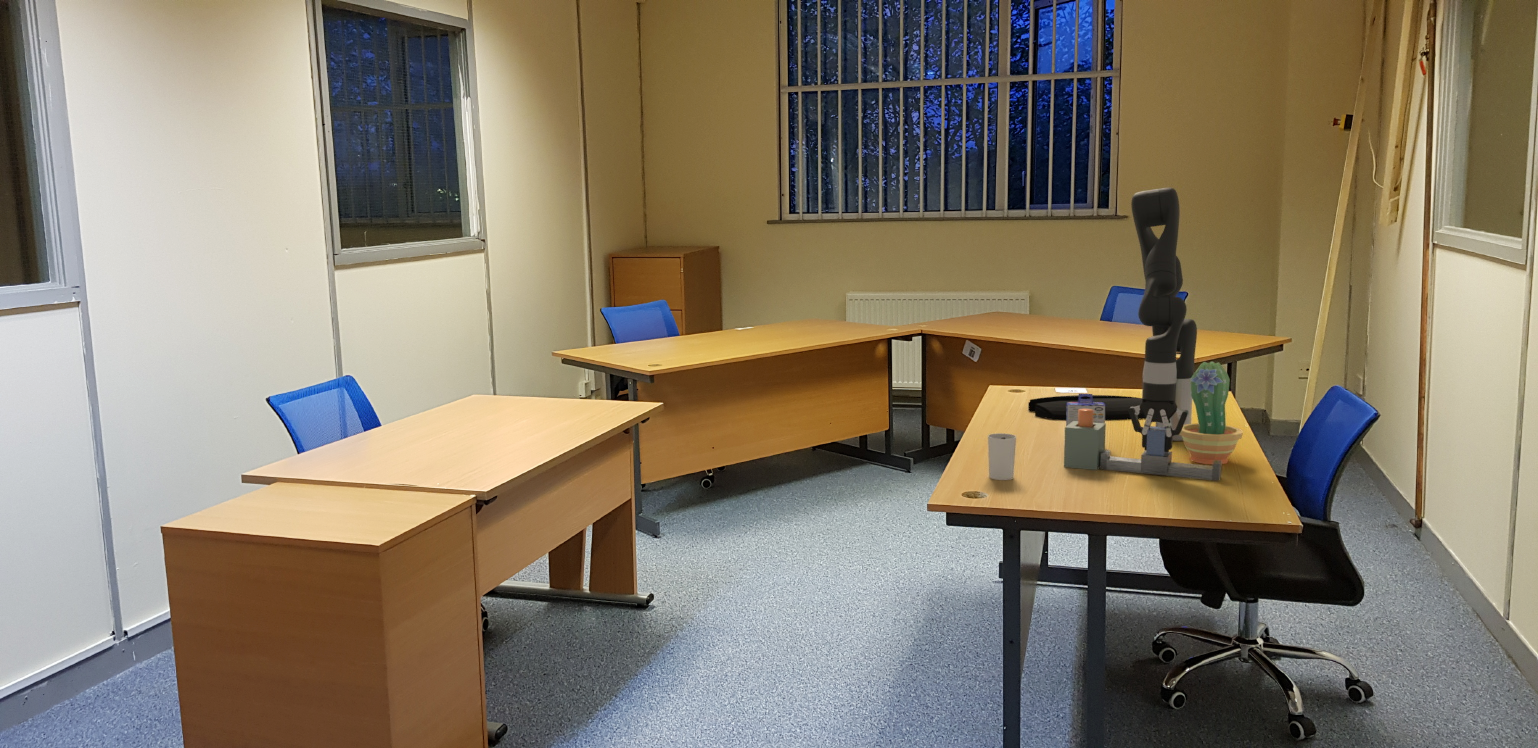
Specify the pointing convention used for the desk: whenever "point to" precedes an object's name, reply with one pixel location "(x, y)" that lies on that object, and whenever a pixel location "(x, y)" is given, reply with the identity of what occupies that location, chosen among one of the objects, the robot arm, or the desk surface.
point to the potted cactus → (1210, 417)
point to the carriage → (1156, 452)
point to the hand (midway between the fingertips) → (1156, 450)
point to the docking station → (1058, 405)
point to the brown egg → (1085, 418)
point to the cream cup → (1001, 456)
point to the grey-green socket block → (1084, 445)
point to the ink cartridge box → (1085, 404)
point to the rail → (1173, 470)
